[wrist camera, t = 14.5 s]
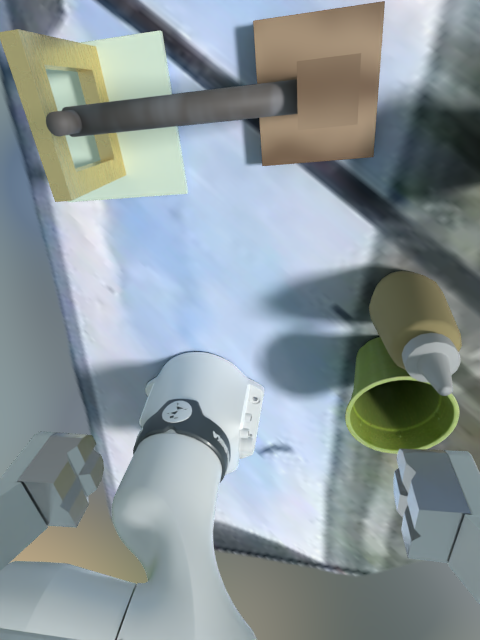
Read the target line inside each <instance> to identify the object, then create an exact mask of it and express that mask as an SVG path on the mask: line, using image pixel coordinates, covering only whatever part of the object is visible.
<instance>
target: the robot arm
mask: <svg viewBox="0 0 480 640" xmlns="http://www.w3.org/2000/svg"><path fill="white" fill-rule="evenodd" d="M145 392H146V394H147V396H148V399H147V401H146V404H145V406H144V409H143V412H142V414H141V417H140V420H139V424H140V425H141V428H142V429H141V431H140V432H139V434H138V436H137V439H136V443H135V446H134V450H133V457H132V460H131V462H130V464H129V466H128V468H127V470H126V472H125V474H124V477H123V479H122V481H121V483H120V485H119V487H118V489H117V492H116V494H115V496H114V499H113V503H112V520H113V524H114V527H115V529H116V531H117V533H118V535H119V537H120V539H121V540H122V542H123V543H124V544H125V545H126V547H127V548H128V549H129V550H130V551H131V552H132V553H133V554H134V555H135V556H136V557H137V558H138V559H139V561H140V562H141V563H142V565H143V567H144V569H145V571H146V574H147V578H148V582H146V583H138V584H135V583H131V582H128V581H125V580H121V579H118V578H114V577H111V576H108V575H104V574H101V573H98V572H94V571H91V570H87V569H84V568H81V567H77V566H74V565H71V564H65V563H51V562H25V561H14V562H11V563H9V562H10V561H12V560H13V559H14V558H15V557H16V556H17V555H18V554H19V553H20V552H21V551H23V549H24V548H26V547H27V546H28V545H29V544H30V543H31V542H32V541H34V540H35V539H36V538H37V537H38V536H39V535H40V534H41V533H42V532H43V531H44V530H46V529H47V528H48V526H63V527H77V526H78V524H79V522H80V520H81V518H82V516H83V514H84V513H85V510H86V509H87V507H88V505H89V502H88V495H90V494H91V493H92V492H94V491H95V490H96V489H97V488H98V486H99V484H100V482H101V480H102V475H103V470H104V465H103V459H102V457H101V455H100V454H99V453H98V452H97V451H95V450H94V447H95V445H96V442H95V440H94V438H93V436H92V435H83V434H69V433H55V432H39V433H38V434H36V435H34V436H33V438H32V439H31V440H30V441H29V443H28V444H27V445H26V446H25V448H24V449H23V450H22V451H21V453H20V454H19V455H18V456H17V458H16V459H15V460H14V462H13V463H12V464H11V465H10V467H9V468H8V469H7V470H6V472H5V473H4V474H3V475H2V477H1V478H0V640H257V638H256V636H255V634H254V632H253V630H252V629H251V628H250V626H249V625H248V624H247V623H246V622H245V620H244V619H243V618H242V616H241V615H240V613H239V612H238V610H237V609H236V607H235V606H234V604H233V602H232V600H231V598H230V596H229V594H228V592H227V590H226V588H225V586H224V583H223V581H222V578H221V575H220V572H219V570H218V566H217V562H216V558H215V552H214V545H213V525H214V516H215V508H216V501H217V495H218V489H219V484H220V482H221V481H222V479H223V478H224V476H225V474H229V473H232V472H234V471H235V470H236V469H237V468H238V464H239V459H242V458H245V457H248V456H250V455H252V454H253V453H254V449H255V444H256V439H257V433H258V427H259V421H260V415H261V409H262V404H263V398H264V388H263V387H262V386H261V385H260V384H258V383H257V382H255V381H253V380H251V379H249V378H247V377H246V376H245V375H244V374H243V373H242V372H241V371H240V370H239V369H238V368H237V367H236V366H235V365H233V364H232V363H231V362H229V361H228V360H226V359H224V358H222V357H219V356H217V355H214V354H210V353H204V352H189V353H184V354H180V355H178V356H175V357H174V358H172V359H170V360H169V361H168V362H167V363H166V364H165V365H164V366H163V368H162V370H161V372H160V373H159V375H158V376H157V377H156V378H154V379H152V380H151V381H150V382H148V383H147V385H146V388H145ZM254 397H257V398H254ZM397 462H398V466H399V468H398V469H397V470H396V471H395V473H394V497H395V503H396V508H397V511H398V512H399V514H400V515H401V516H402V517H403V523H402V528H401V530H402V535H403V539H404V543H405V548H406V552H407V556H408V558H411V559H420V560H428V561H436V562H445V563H448V566H449V567H450V568H451V569H452V571H453V572H454V573H455V575H456V576H457V577H458V578H459V580H460V581H461V582H462V583H463V584H464V586H465V587H466V588H467V590H468V591H469V592H470V593H471V595H472V596H473V597H474V598H475V600H476V601H477V602H478V603H479V605H480V472H479V470H478V468H477V466H476V464H475V462H474V460H473V457H472V455H471V454H470V453H469V452H468V451H446V450H445V451H443V450H427V449H399V451H398V455H397ZM8 563H9V564H8ZM136 585H137V586H136Z"/></svg>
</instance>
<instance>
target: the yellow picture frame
mask: <svg viewBox="0 0 480 640" xmlns="http://www.w3.org/2000/svg"><path fill="white" fill-rule="evenodd" d="M0 40H1V43H2V46H3V49H4V52H5V55H6V58H7V61H8V64H9V66H10V69H11V72H12V75H13V78H14V81H15V84H16V87H17V90H18V93H19V96H20V99H21V102H22V105H23V108H24V111H25V114H26V117H27V120H28V123H29V126H30V129H31V132H32V134H33V137H34V140H35V143H36V146H37V149H38V152H39V155H40V158H41V161H42V164H43V167H44V170H45V173H46V176H47V179H48V182H49V185H50V188H51V191H52V194H53V197H54V200H55V202H60V201H72V200H74V199H76V198H78V197H81V196H83V195H85V194H87V193H89V192H91V191H93V190H96V189H98V188H100V187H102V186H104V185H106V184H108V183H111V182H113V181H115V180H117V179H119V178H121V177H123V176H125V175H126V171H125V166H124V162H123V158H122V154H121V150H120V145H119V141H118V137H117V133H108V134H98V135H94V137H95V141H96V144H97V148H98V152H99V156H100V159H101V160H99V161H97V162H94V163H91V164H88V165H85V166H82V167H79V168H76V169H75V166H74V163H73V160H72V156H71V153H70V150H69V146H68V143H67V140H66V136H55V135H53V134H52V133H51V132H50V131H49V129H48V128H47V125H46V117H47V115H48V114H49V113H50V112H54V111H58V110H57V106H56V103H55V100H54V96H53V93H52V90H51V86H50V83H49V80H48V76H47V73H46V70H45V69H51V70H62V71H74V72H77V73H78V76H79V80H80V84H81V88H82V92H83V95H84V99H85V103H86V104H95V103H103V102H109V99H108V95H107V91H106V86H105V82H104V78H103V74H102V69H101V65H100V61H99V57H98V53H97V48H96V46H92V45H87V44H82V43H78V42H73V41H69V40H64V39H60V38H55V37H50V36H46V35H41V34H37V33H32V32H27V31H23V30H18V29H17V30H11V31H5V32H0Z"/></svg>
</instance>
